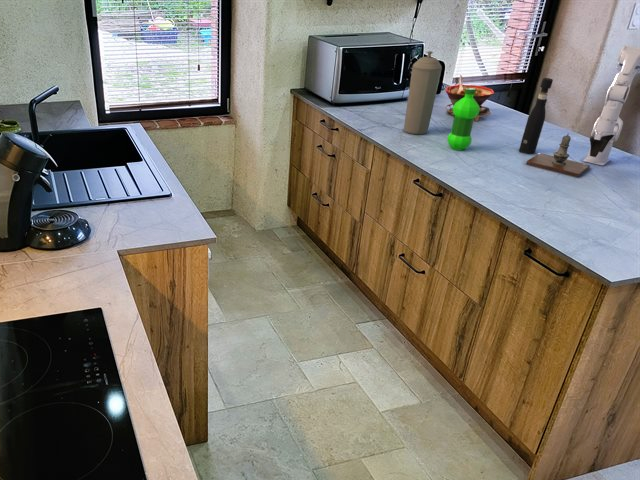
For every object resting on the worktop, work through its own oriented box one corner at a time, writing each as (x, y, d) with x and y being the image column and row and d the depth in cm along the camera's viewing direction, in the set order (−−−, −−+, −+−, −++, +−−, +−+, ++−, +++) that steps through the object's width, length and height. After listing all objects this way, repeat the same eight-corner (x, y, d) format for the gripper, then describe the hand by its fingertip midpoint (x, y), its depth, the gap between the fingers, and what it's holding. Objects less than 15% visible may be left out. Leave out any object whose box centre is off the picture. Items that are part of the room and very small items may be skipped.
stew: (436, 104, 315) (443, 73, 306) (483, 107, 312) (490, 75, 304) (444, 119, 292) (451, 86, 283) (495, 122, 289) (503, 88, 280)
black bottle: (535, 150, 255) (556, 78, 239) (534, 155, 250) (556, 81, 234) (519, 148, 257) (539, 76, 241) (518, 152, 252) (538, 79, 236)
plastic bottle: (473, 148, 256) (487, 88, 243) (462, 154, 250) (476, 93, 236) (452, 142, 262) (464, 84, 248) (441, 148, 255) (453, 88, 242)
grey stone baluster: (568, 166, 235) (578, 136, 229) (552, 164, 236) (562, 135, 230) (564, 161, 240) (574, 131, 234) (549, 159, 241) (558, 130, 235)
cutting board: (539, 156, 249) (540, 152, 248) (589, 168, 238) (590, 165, 237) (526, 164, 241) (527, 160, 240) (577, 177, 229) (578, 173, 228)
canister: (399, 133, 272) (412, 52, 253) (403, 126, 282) (417, 47, 263) (427, 137, 268) (443, 55, 249) (431, 129, 278) (446, 50, 259)
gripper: (614, 125, 214) (601, 161, 221) (626, 117, 222) (613, 152, 230) (593, 120, 218) (581, 156, 225) (606, 113, 226) (593, 147, 234)
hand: (596, 154), depth 228 cm, fingers open, 7 cm apart
